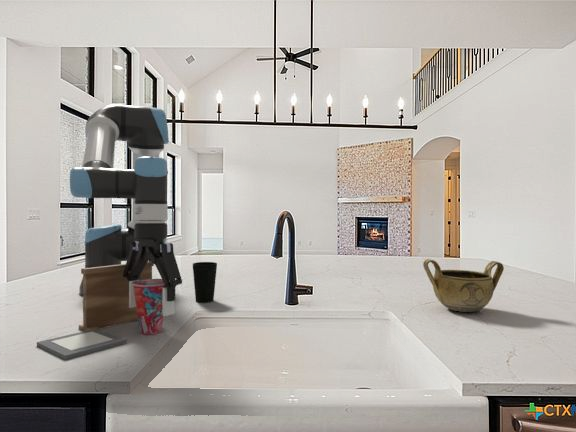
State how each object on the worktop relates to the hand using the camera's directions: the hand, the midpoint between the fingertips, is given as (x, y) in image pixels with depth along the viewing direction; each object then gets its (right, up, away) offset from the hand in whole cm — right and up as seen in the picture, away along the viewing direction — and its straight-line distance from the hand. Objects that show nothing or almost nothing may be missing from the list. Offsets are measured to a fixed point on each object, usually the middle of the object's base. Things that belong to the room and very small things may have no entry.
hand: (151, 310), depth 99 cm
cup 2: (+6, -5, +33) cm, 34 cm away
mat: (-12, -5, -10) cm, 16 cm away
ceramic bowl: (+85, -5, +24) cm, 88 cm away
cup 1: (0, -5, 0) cm, 5 cm away
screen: (-10, -5, +7) cm, 13 cm away
